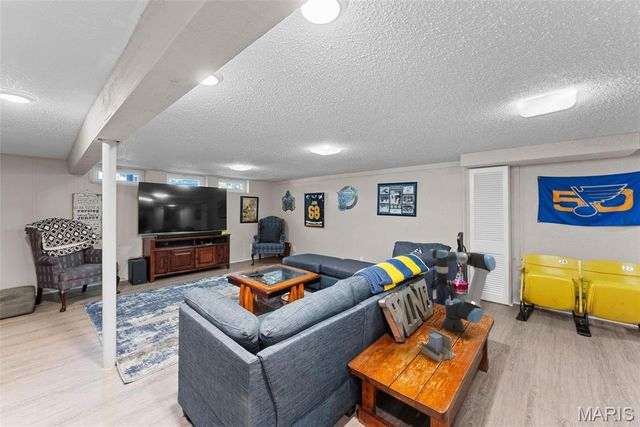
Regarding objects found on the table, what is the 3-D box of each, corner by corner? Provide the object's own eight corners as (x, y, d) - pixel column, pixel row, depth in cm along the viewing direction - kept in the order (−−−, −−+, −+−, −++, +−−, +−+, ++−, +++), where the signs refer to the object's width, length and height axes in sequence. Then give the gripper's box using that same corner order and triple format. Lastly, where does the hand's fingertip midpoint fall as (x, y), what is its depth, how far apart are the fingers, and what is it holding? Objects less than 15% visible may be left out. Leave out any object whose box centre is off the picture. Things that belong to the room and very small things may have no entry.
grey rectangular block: (434, 345, 174) (434, 332, 174) (442, 349, 169) (442, 336, 169) (428, 347, 172) (428, 334, 172) (436, 352, 166) (436, 338, 166)
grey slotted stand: (436, 345, 182) (436, 325, 182) (457, 356, 168) (456, 335, 167) (420, 350, 175) (420, 330, 175) (440, 363, 161) (440, 341, 161)
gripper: (424, 269, 192) (424, 297, 193) (454, 276, 170) (454, 308, 170) (431, 267, 195) (431, 295, 196) (462, 275, 173) (462, 306, 173)
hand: (442, 301), depth 183 cm, fingers open, 13 cm apart
